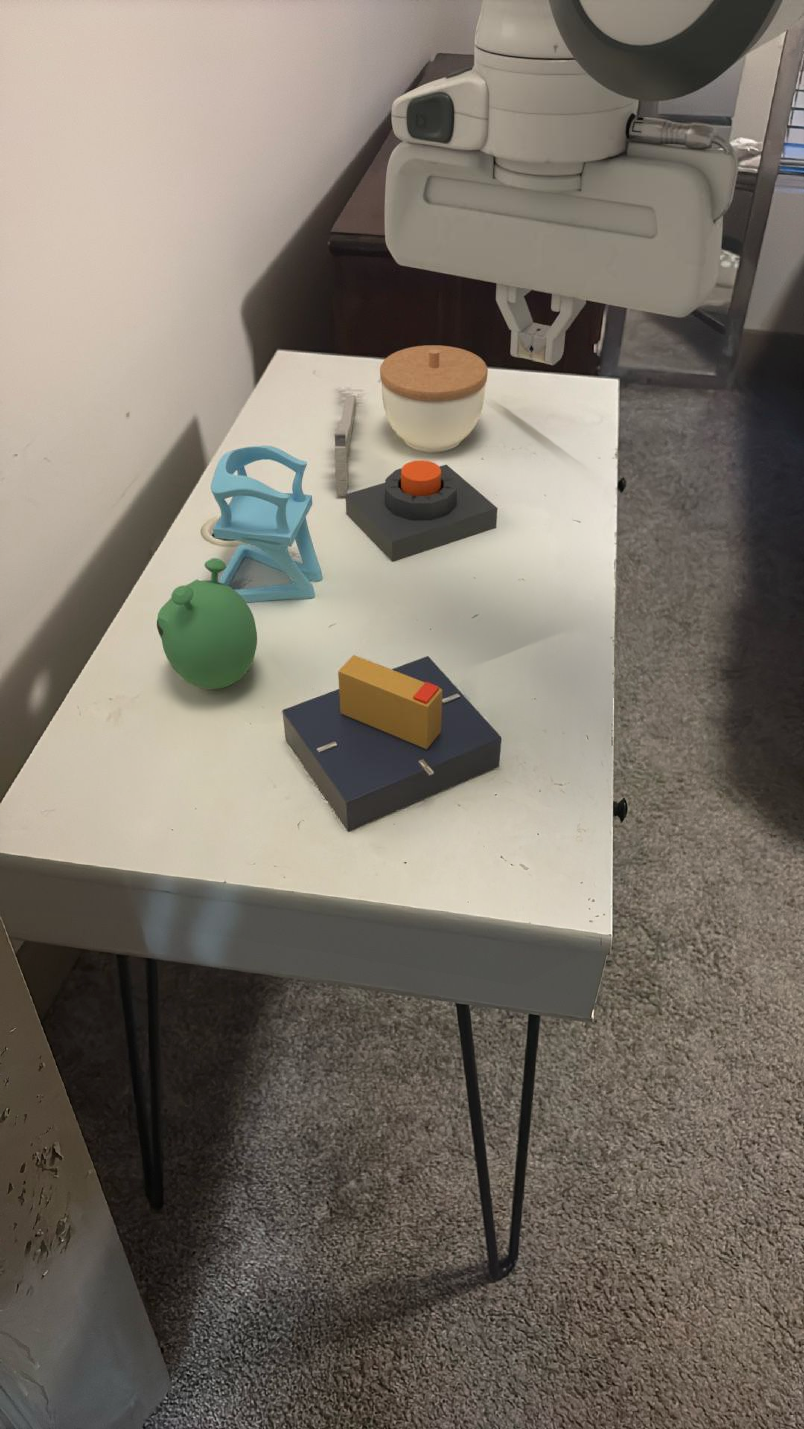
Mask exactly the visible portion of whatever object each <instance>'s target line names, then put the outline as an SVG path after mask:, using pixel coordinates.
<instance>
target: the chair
mask: <svg viewBox="0 0 804 1429" xmlns="http://www.w3.org/2000/svg"><path fill="white" fill-rule="evenodd" d="M262 460H263V461H264V460H269V461H274V462H276V463H279V464H281V465H283V466H284V467H286V468H288V469H289V470H291V471H293V472H294V473H295V475H294V477H293V480H292V481H293V482H292V488H291V490H292V493H291V492H289V493H288V492H280V491H278V490H276V489H274V488H272V487H271V486H269V485H267V484H266V483H263V481H260V480H258V479H255V478H253V477H251V476H248V473H247V471H246V467H247V466H248V465H250V464H253V463H254V462H258V461H262ZM307 465H308V462H307V461H306V460H301V459H299V458H296V457H294V456H293V455H291V454H289V453H288V452H287V451H284V450H282V449H280V448H278V447H276V446H272V445H256V446H255V445H254V446H246V447H240V448H236V449H233V450H230V451H228V452H225V453H224V454H223V455H222V456H221V457H220V458H219V461H218V462H217V464H216V467H215V470H214V472H213V475H212V479H211V482H210V483H211V484H210V492H211V493H212V496H213V497H214V500H215V501H216V503H217V505H218V507H219V510H220V517H219V518H218V520H217V522H216V523H215V525H214V526H213V528H212V531H213V532H212V533H213V538H214V539H219V540H229V541H231V540H232V541H238V542H241V543H243V544H240V545H238V547H237V548H236V550H235V551H234V553H233V555H232V557H231V558H230V560H229V562H228V563H227V565H226V569H225V570H223V572H222V574H221V576H220V578H219V580H218V582H220V583H223V584H225V585H227V586H229V585H230V584H231V582H232V580H233V578H234V576H235V575H236V573H237V571H238V569H239V567H240V566H241V564H242V562H243V559H245V558H248V559H252V560H254V561H256V562H259V563H262V564H264V565H266V566H269V567H271V568H274V569H276V570H280V571H282V572H284V573H285V574H286V575H287V576H288V577H289V579H290V580H291V581H292V582H293V583H287V584H286V583H285V584H275V585H268V586H258V587H247V588H239V589H238V588H237V589H234V590H235V591H236V592H237V593H239V594H240V595H241V596H242V598H243V599H244V600H245V602H246V603H256V602H268V601H280V600H298V599H299V600H303V599H305V600H306V599H313V598H315V596H316V594H315V590H314V586H313V583H311V582H310V581H313V582H320V581H322V580H323V573H322V569H321V565H320V562H319V559H318V557H317V553H316V550H315V547H314V543H313V540H312V537H311V533H310V530H309V526H308V521H307V515H308V514H309V512H310V511H311V508H312V507H313V495H312V494H305V493H304V491H303V477H304V474H305V470H306V468H307ZM236 471H237V472H236ZM235 472H236V473H237V474H234V473H235ZM225 499H226V500H227V499H230V501H229V503H228V502H227V501H226V500H225ZM294 543H296V546H297V550H298V553H299V557H300V559H301V562H300V561H297V560H294V559H293V557H292V555H291V554H290V552H289V547H290V548H292V546H293V544H294ZM229 587H230V586H229Z"/></svg>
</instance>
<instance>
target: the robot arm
mask: <svg viewBox="0 0 804 1429" xmlns="http://www.w3.org/2000/svg"><path fill="white" fill-rule="evenodd" d="M803 21H804V0H482V3H481V8H480V13H479V17H478V20H477V23H476V28H475V33H474V49H473V50H474V52H473V53H474V54H473V60H474V61H473V65H471V66H468V67H463V68H460V69H457V70H455V71H453V72H451V73H448V74H446V76H445V77H442V78H439V79H435V80H432V81H429V82H427V83H425V84H422V85H420V86H418V87H416V88H414V89H412V90H410V91H408V92H406V93H404V94H401V96H399V97H397V98H396V99H394V101H392V102H393V103H392V106H391V126H392V131H393V134H394V136H395V137H396V138H398V139H399V140H400V141H401V142H399V143H398V144H397V145H396V146H395V147H394V149H393V150H392V151H391V154H390V156H389V158H388V162H387V167H386V174H385V188H384V236H385V237H384V239H385V245H386V248H387V249H388V251H389V253H390V255H391V256H392V258H393V260H394V262H396V264H398V265H399V266H402V267H408V268H415V269H418V270H425V271H430V272H435V273H440V274H445V275H451V276H456V277H460V278H465V279H466V278H467V279H472V280H476V281H483V282H489V283H494V284H496V288H495V301H496V304H497V306H498V309H499V311H500V312H501V314H502V317H503V319H504V321H505V323H506V325H507V327H508V330H510V331H511V332H510V351H509V352H510V356H512V357H514V358H518V359H524V360H530V361H532V362H536V363H537V362H538V363H543V364H546V365H551V366H555V365H556V364H557V363H558V362H559V361H561V359H562V357H563V356H564V350H565V343H566V342H565V341H566V340H565V339H566V331H568V329H569V328H570V327H571V326H572V323H574V321H575V319H576V318H577V317H578V315H579V314H580V312H581V311H582V310H583V309H584V307H585V306H586V304H587V301H589V302H594V303H599V304H603V305H604V304H605V305H609V306H615V307H621V308H626V309H631V310H636V311H641V312H648V313H652V314H658V315H662V316H669V317H673V318H685V317H687V316H689V315H690V314H691V313H693V312H694V311H696V310H697V309H698V308H699V307H700V306H702V304H703V305H704V303H705V302H706V301H707V300H708V298H710V296H711V295H712V293H713V292H714V290H715V288H716V286H717V282H718V277H719V271H720V262H721V256H722V255H721V254H722V244H723V243H722V242H723V230H724V229H723V228H724V227H723V226H724V223H723V222H724V215H725V214H726V213H727V211H728V210H729V208H730V206H731V204H732V202H733V199H734V196H735V195H734V194H735V188H736V185H737V184H736V183H737V179H738V174H739V173H738V172H739V159H738V155H737V152H736V150H735V148H734V146H733V145H732V144H731V143H730V141H729V140H727V138H725V137H724V136H722V135H721V134H718V130H717V127H715V126H713V125H711V124H709V123H708V124H707V123H703V122H702V123H701V122H691V123H682V122H676V121H672V120H669V119H664V118H657V117H650V116H649V117H648V116H644V115H640V116H639V115H638V111H639V103H640V101H642V102H643V101H644V102H663V101H670V100H671V101H672V100H675V99H679V98H683V97H685V96H688V95H691V94H693V93H695V92H698V91H699V90H701V89H703V88H704V87H707V86H708V85H709V84H711V83H713V82H714V81H715V80H717V79H718V78H719V77H720V76H722V75H723V74H724V73H725V72H727V71H728V70H729V69H731V67H732V66H734V65H735V64H736V63H738V61H741V59H742V58H743V57H744V56H746V55H748V54H750V53H751V52H753V51H755V50H757V49H759V48H760V47H762V46H763V45H766V44H767V43H769V42H770V41H773V40H774V39H776V38H777V37H779V36H780V35H782V34H784V33H786V32H787V31H789V30H791V29H792V28H794V27H796V26H797V25H799V24H800V23H802V22H803ZM714 145H717V146H718V147H720V148H721V149H718V148H713V147H714ZM531 291H534V292H535V291H536V292H541V293H546V294H551V304H550V309H551V311H552V312H555V313H556V312H557V313H559V314H558V315H557V317H556V318H555V320H554V321H553V322H552V324H551V325H547V324H542V323H538V322H534V319H533V317H532V315H531V312H530V308H529V306H528V304H527V300H526V299H525V298H526V297H525V296H526V295H527V294H529V293H531Z"/></svg>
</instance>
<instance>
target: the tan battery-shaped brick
mask: <svg viewBox="0 0 804 1429" xmlns="http://www.w3.org/2000/svg"><path fill="white" fill-rule="evenodd" d="M391 669H392V668H389V667H386V666H384V665H381V664H378V663H375V662H373V661H370V660H368V659H366V658H363V657H361V656H358V655H356V654H353V655H352V656H351V657H350V658H349V659H348V660H347V661H346V662H345V663H344V664H343V666H341V667H340V668H339V670H338V671H337V676H338V689H339V694H340V710H341V714H343V715H346V716H348V717H350V718H353V719H355V720H358V721H360V722H362V723H365V724H367V725H370V726H372V727H374V728H377V729H379V730H382V731H384V732H386V733H389V734H391V735H394V736H396V737H398V738H401V739H403V740H405V741H408V742H410V743H413V744H415V745H417V746H420V747H422V748H425V749H428V747H429V746H430V745H431V744H432V742H433V741H434V740H435V739H436V737H437V736H438V735H439V734H440V732H441V716H442V689H440V688H439V687H438V686H436V685H433V684H431V683H428V682H422V681H420V680H417V679H414V678H412V677H409V676H407V675H404V674H402V673H399V672H396V671H394V670H391Z"/></svg>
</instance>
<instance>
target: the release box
mask: <svg viewBox="0 0 804 1429" xmlns="http://www.w3.org/2000/svg"><path fill="white" fill-rule="evenodd" d="M438 466H439V465H438ZM439 467H440V469H441V488H440V490H439V492H438V493H435V494H432V495H429V496H413V495H410V494H407V493H404V492H403V490H402V488H401V469H402V467H400V468H398V469H395V470H394V471H392V473H391V474H390V475H388V476H387V477H386V478H385V480H384V482H383V483H378V484H375V485H372V486H368V487H364V488H361V489H358V490H354V491H352V492H349V493H348V492H347V494H346V495H345V514H346V516H347V517H349V519H350V520H351V521H352V522H353V523H354V524H355V525H356V526H358V528H359V529H360V530H361V531H362V532H363V533H364V534H365V535H366V537H367V538H369V540H370V541H371V542H372V543H373V544H374V545H375V546H376V547H377V548H378V549H379V550H380V551H381V552H382V553H383V554H384V555H385V556H386V557H387V558H388V559H389V560H390V561H391V562H392V563H393V562H397V561H400V560H403V559H405V558H406V559H407V558H409V557H412V556H415V555H417V554H421V553H424V552H427V551H430V550H433V549H436V548H440V547H442V546H445V545H449V544H451V543H455V542H458V541H461V540H463V539H466V538H469V537H473V536H475V535H479V534H481V533H485V532H488V531H491V530H494V529H497V522H498V521H497V520H498V507H497V506H496V505H495V504H494V503H492V502H491V501H490V500H489V499H488V498H486V497H485V496H484V495H483V494H482V493H480V491H478V490H477V489H476V488H475V487H473V486H472V485H471V484H470V483H469V482H468V481H467V480H465V479H464V478H463V477H462V476H461V475H459V473H457V472H456V471H455V470H454V469H453V468H451V466H449V465H448V464H442V465H440V466H439Z"/></svg>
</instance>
